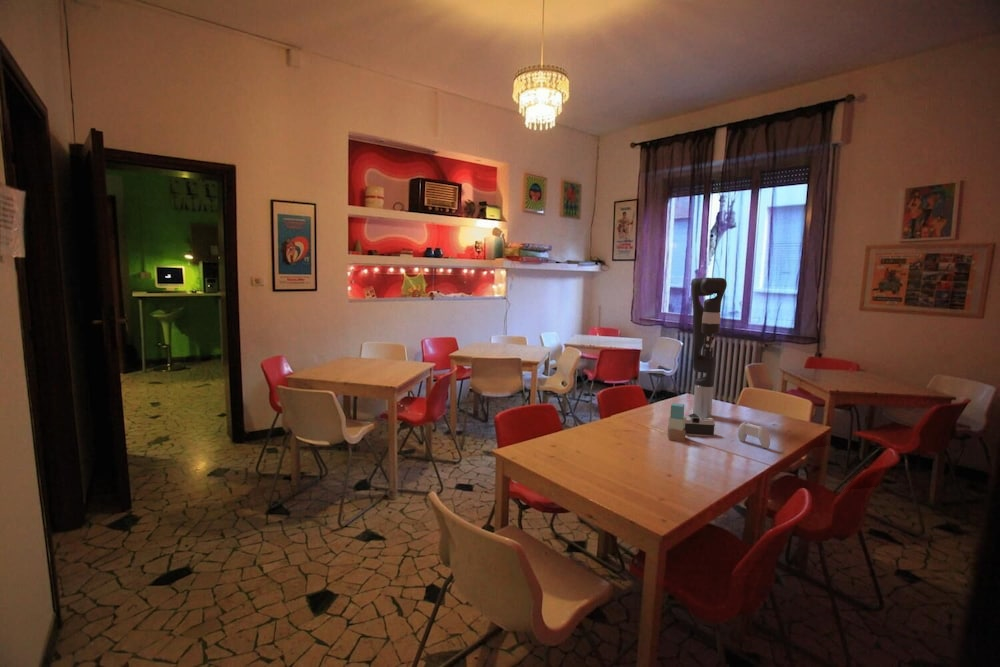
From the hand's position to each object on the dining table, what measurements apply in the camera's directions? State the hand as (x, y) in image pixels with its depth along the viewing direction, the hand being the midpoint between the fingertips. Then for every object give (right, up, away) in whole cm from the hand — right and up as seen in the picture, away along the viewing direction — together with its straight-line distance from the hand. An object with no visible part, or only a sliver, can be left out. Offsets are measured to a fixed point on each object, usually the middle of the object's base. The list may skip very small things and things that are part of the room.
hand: (708, 358), depth 213 cm
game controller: (+19, -39, -2) cm, 44 cm away
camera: (0, -37, +14) cm, 40 cm away
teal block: (-13, -28, +4) cm, 31 cm away
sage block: (-13, -33, +5) cm, 35 cm away
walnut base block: (-13, -38, +5) cm, 40 cm away
